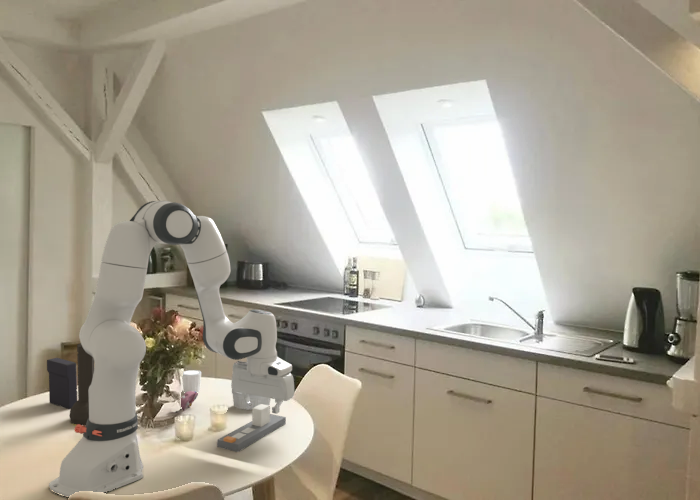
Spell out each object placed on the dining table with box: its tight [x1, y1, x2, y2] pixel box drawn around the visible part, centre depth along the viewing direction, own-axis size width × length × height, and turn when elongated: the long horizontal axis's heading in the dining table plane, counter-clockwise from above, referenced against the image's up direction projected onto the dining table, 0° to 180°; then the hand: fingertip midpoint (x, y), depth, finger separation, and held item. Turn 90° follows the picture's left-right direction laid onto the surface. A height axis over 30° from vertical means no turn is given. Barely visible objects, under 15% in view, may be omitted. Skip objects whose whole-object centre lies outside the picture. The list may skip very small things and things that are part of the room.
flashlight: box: [69, 342, 95, 426], centre depth 192 cm, size 10×25×10 cm
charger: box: [251, 404, 271, 427], centre depth 183 cm, size 4×3×7 cm
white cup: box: [181, 369, 202, 394], centre depth 223 cm, size 7×7×7 cm
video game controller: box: [180, 390, 199, 412], centre depth 205 cm, size 10×5×7 cm, turn 169°
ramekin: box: [231, 389, 271, 411], centre depth 206 cm, size 13×13×7 cm
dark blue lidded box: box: [46, 357, 78, 410], centre depth 206 cm, size 11×4×15 cm, turn 58°
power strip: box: [216, 413, 287, 453], centre depth 180 cm, size 24×7×4 cm, turn 154°
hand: (262, 410), depth 183 cm, fingers open, 8 cm apart
